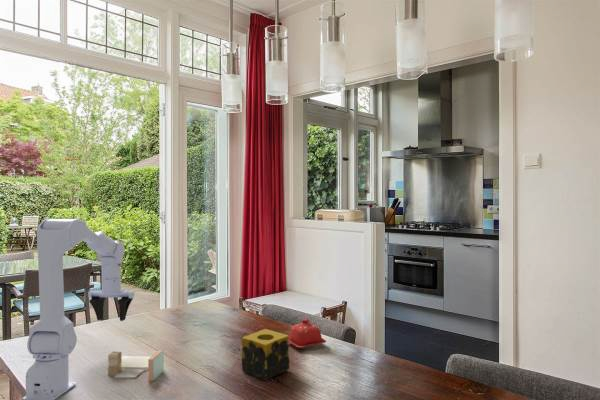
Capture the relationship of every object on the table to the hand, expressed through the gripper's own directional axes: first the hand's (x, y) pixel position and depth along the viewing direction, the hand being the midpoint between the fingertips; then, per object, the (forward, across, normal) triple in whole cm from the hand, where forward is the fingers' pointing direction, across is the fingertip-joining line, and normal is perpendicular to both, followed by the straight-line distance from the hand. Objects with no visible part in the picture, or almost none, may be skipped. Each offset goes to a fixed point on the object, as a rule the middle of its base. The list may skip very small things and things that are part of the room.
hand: (111, 319), depth 133 cm
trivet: (+11, -12, +9) cm, 18 cm away
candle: (+11, -52, +10) cm, 54 cm away
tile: (+11, -22, +16) cm, 29 cm away
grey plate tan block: (+11, -10, +16) cm, 22 cm away
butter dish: (+11, -62, -14) cm, 64 cm away
